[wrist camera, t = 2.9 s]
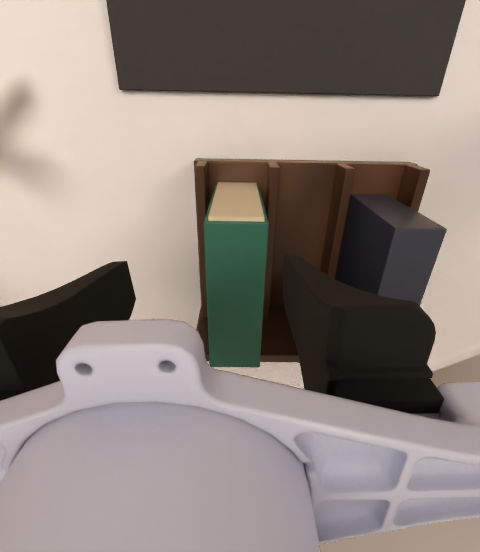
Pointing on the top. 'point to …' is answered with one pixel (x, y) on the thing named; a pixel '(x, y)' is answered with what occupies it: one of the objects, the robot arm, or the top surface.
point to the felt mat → (284, 45)
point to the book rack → (299, 222)
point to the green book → (235, 273)
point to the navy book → (387, 248)
